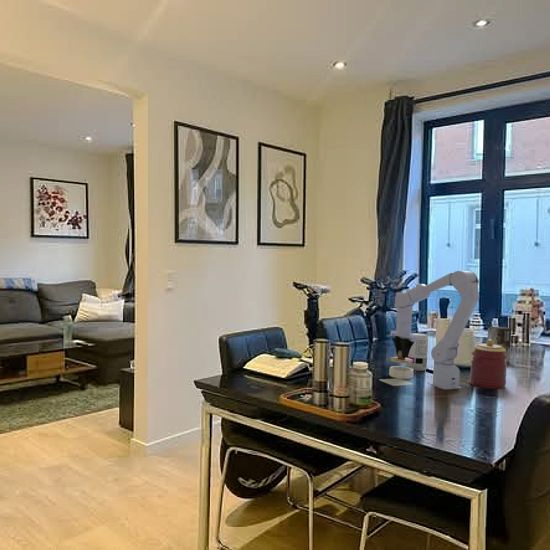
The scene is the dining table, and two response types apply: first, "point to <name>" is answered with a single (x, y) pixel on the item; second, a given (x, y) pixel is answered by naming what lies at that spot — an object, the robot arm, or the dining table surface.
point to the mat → (396, 382)
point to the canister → (488, 366)
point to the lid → (401, 359)
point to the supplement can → (419, 353)
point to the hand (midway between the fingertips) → (402, 356)
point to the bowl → (401, 372)
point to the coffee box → (501, 338)
